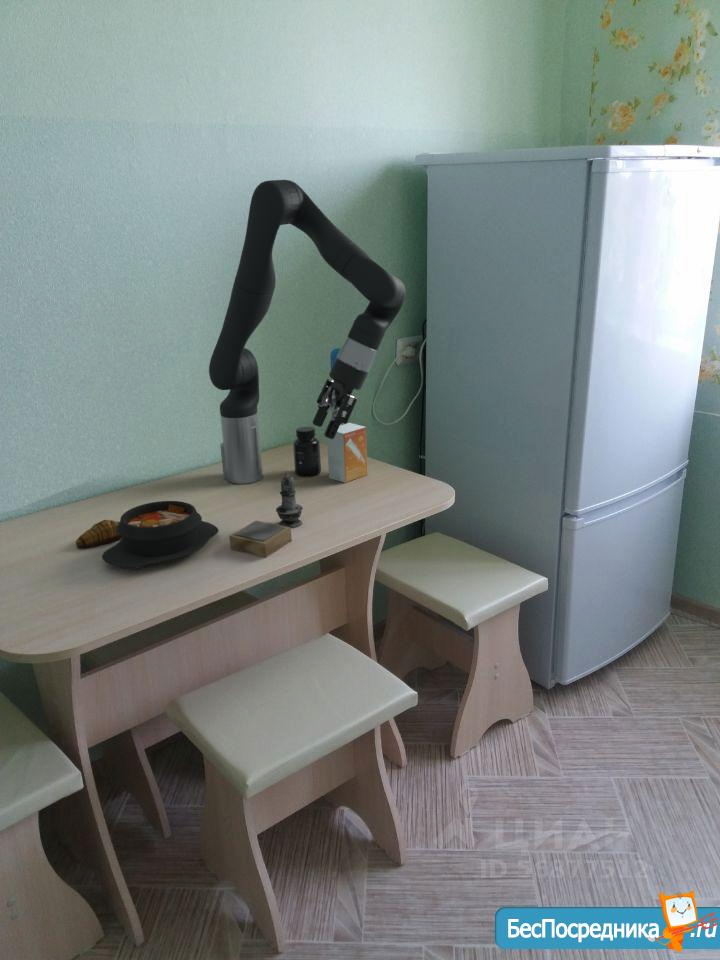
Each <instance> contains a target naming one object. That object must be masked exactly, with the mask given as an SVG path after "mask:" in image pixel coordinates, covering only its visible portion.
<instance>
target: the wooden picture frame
mask: <svg viewBox="0 0 720 960" xmlns="http://www.w3.org/2000/svg"><path fill="white" fill-rule="evenodd" d="M228 537H229V545H230V546H229V547H230V550H232V551H236V552H240V553H244V554H249V555H253V556H257V557H258V556H259V557H262V558H268V557H270V556H271V555H272V554H274V553H275V552H277V551H278V550H280V549H281V548H283V547H284V546H286V545H288V543H291V542H292V541H293V540H292V539H293V538H292V528H291V527H286V526H281V525H278V524H275V523H270V522H265V521H260V520H255V521H253V522H251V523H249V524H248V525H246V526H244V527H242V528H241V529H239V530H237V531H235V532H234V533H232V534H230V535H229V536H228Z"/></svg>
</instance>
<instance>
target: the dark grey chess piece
mask: <svg viewBox="0 0 720 960" xmlns="http://www.w3.org/2000/svg"><path fill="white" fill-rule="evenodd" d="M280 487H281V488H280V489H281V491H279V494H280V496H281V504H280V505H278V506H277V507H276V508H275V511H276V513H277V516H278V518H279V519H280V521H279V522H278V524H277V525H281V526H286V527H291V529H296V528H298V527H300V526H302V525H303V521H302V520H301V519H300V517H301V516H302V512H303V508H304V507H303V506H302V505H300V504H298V503H297V501H296V493H297V491H296V490H295V481H294V478H293V477H292V476H290V475H289V474H288V472H285V475H284V476H282V477H281V479H280Z"/></svg>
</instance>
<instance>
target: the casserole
mask: <svg viewBox="0 0 720 960" xmlns="http://www.w3.org/2000/svg"><path fill="white" fill-rule="evenodd" d="M202 518H203V517H202V516H201V514H200V513H199V512H198V511H197V509H196V507H195V506H194V505H193V504H191V503H188V502H185V501H181V500H180V501H178V500H161V501H160V500H159V501H152V502H149V503H143V504H140V505H137V506H135V507H132V508H130V509H128V510H126V511H125V512H124V513H123V514H122V515H121V517H120V521H119V522H120V523H119V525H118V526H117V529H116V530H117V533H118V534H119V535H121V536H122V538H121V539H119V540H118V542H117V543H116V544H115V545H113V546H112V547H110V548H108V549H106V550H105V551H104V552H103V553H102V555H101V558H102V560H103V562H104V563H106V564H108V565H110V566H113V567H115V568H116V567H117V568H121V569H138V568H144V567H147V566H150V565H154V564H158V563H163V562H170V561H175V560H178V559H182V558H184V557H186V556H190V555H192V554H194V553H196V552H197V551H199V550H200V549H202V548H203V547H204V546H205V545H206V544H207V543H208V541H210V540H211V539H212V538H213V537H214V536H216V535H217V534H219V528H218V527H217V526H216V525H214V524H212V523H210V522H207V521H203V519H202Z"/></svg>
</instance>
